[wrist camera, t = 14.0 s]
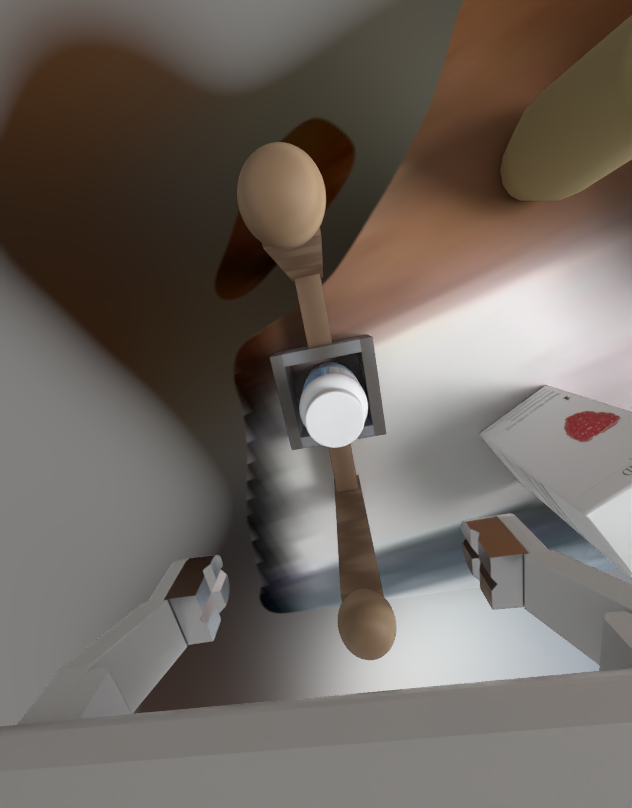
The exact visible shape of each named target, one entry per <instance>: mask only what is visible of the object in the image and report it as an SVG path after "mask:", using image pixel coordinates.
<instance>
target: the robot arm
mask: <svg viewBox="0 0 632 808" xmlns="http://www.w3.org/2000/svg"><path fill="white" fill-rule="evenodd" d="M461 528H462V533H463V534H464V536H465V538H466V539H465V540H464V542H463V551H464V555H465V559H466V562H467V564H468V567H469V569H470V571H471V573H472V574H473V576H475V577H476V578H478V579H479V580H480V588H481V590H482V592H483V594H484V595H485V597H486V599H487V601H488V602H489V604H490V606H491V607H492V609H505V608H517V607H525V609H526V610H527V611H528V612H530V613H531V614H532V615H534V616H535V617H536V618H538V619H539V620H540V621H542V622H543V623H544V624H546V625H547V626H548V627H550V628H551V629H552V630H554V631H555V632H556V633H558V634H559V635H560V636H562V637H563V638H565V639H566V640H567V641H568V642H570V643H571V644H572V645H573V646H575V647H576V648H577V649H579V650H580V651H582V652H583V653H584V654H585V655H587V656H588V657H589V658H591V659H592V660H593V661H595V662H596V663H597V664H599V665H600V668H599V671H593V672H582V673H572V674H561V675H550V676H539V677H528V678H518V679H508V680H507V679H506V680H496V681H485V682H475V683H464V684H455V685H454V684H453V685H442V686H433V687H421V688H410V689H400V690H391V691H390V690H389V691H379V692H368V693H357V694H346V695H335V696H325V697H313V698H302V699H291V700H282V701H281V700H280V701H270V702H259V703H249V704H237V705H226V706H216V707H205V708H194V709H184V710H172V711H162V712H151V713H140V714H133V712H134V711H135V710H136V709H137V707H138V706H139V705H140V704H141V702H142V701H143V700H144V699H145V697H146V696H147V695H148V694H149V693H150V692H151V690H152V689H153V688H154V687H155V685H156V684H157V683H158V682H159V681H160V679H161V678H162V677H163V675H164V674H165V673H166V672H167V671H168V670H169V668H170V667H171V666H172V664H173V663H174V662H175V661H176V660H177V659H178V657H179V656H180V655H181V654H182V652H183V651H184V650H185V649H186V648H187V645H190V644H197V643H204V642H210V641H214V638H215V635H216V632H217V630H218V627H219V624H220V621H221V618H220V615H219V613H220V612H221V611H222V609H223V608H224V607H225V606H226V604H227V600H228V597H229V580H228V577H227V574H226V573H224V572H223V571H221V568H222V565H223V563H222V560H221V558H220V556H218V555H213V556H204V557H195V558H189V559H180V560H176V561H174V562H173V563H172V564H171V566H170V567H169V569H168V570H167V572H166V574H165V575H164V577H163V578H162V580H161V581H160V583H159V585H158V586H157V588H156V589H155V591H154V592H153V594H152V596H151V597H150V599H149V600H148V602H147V603H142V604H141V605H140V606H138V607H137V608H136V609H135V610H133V611H132V612H131V613H130V614H128V615H127V616H126V617H124V618H123V619H122V620H121V621H119V622H118V623H117V624H116V625H115V626H113V627H112V628H111V629H110V630H108V631H107V632H106V633H105V634H103V635H102V636H101V637H99V638H98V639H97V640H96V641H94V642H93V643H92V644H91V645H89V646H88V647H87V648H86V649H85V650H83V651H82V652H81V653H79V654H78V655H77V656H76V657H74V658H73V659H72V660H71V661H69V662H68V663H67V664H66V665H64V666H63V667H62V668H61V669H59V670H58V671H57V673H56V674H55V675H54V676H53V678H52V679H51V680H50V682H49V683H48V684H47V686H46V687H45V688H44V690H43V691H42V692H41V694H40V695H39V696H38V697H37V699H36V700H35V701H34V703H33V704H32V705H31V707H30V708H29V709H28V711H27V712H26V713H25V714H24V716H23V717H22V719H21V720H20V721H19V722H18V724H17V725H11V726H1V727H0V808H632V585H631V584H629V583H626V582H624V581H622V580H620V579H617V578H615V577H613V576H611V575H609V574H606V573H604V572H602V571H600V570H598V569H595V568H593V567H591V566H589V565H586V564H584V563H582V562H580V561H578V560H575V559H573V558H571V557H569V556H566V555H564V554H562V553H560V552H558V551H549V550H548V549H547V548H546V547H545V545H544V544H543V543H542V542H541V541H540V540H539V539H538V538H537V537H536V536H535V535H534V534H533V533H532V532H531V531H530V530H529V529H528V528H527V527H526V526H525V525H524V524H523V523H522V522H521V521H520V520H519V519H518V518H517V517H516V516H515V515H514V514H512V513H508V514H502V515H496V516H492V517H485V518H478V519H471V520H464V521H462V524H461Z"/></svg>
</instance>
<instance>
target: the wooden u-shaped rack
mask: <svg viewBox="0 0 632 808" xmlns="http://www.w3.org/2000/svg"><path fill="white" fill-rule="evenodd" d="M237 196H238V204H239V209H240V212H241V215H242V218H243V220H244V222H245V224H246V226H247V227H248V229H249V230H250V231H251V233H252V234H253V235H254V236H255V237H256V238H257V239H258V240H260V241H261V242H262V245H263V248H264V250H265V251H266V252H267V253H268V254H269V255H270V256H271V258H272V259H273V260H274V261H275V262H276V263H277V264H278V265H279V267H280V268H281V269H282V270H283V271H284V272H285V273H286V274H287V275H288V277H289V278H290V279H291V280H292V281H293V282H294V283H295V284H296V289H297V294H298V299H299V304H300V309H301V314H302V319H303V324H304V329H305V334H306V339H307V343H308V346H306V347H301V348H296V349H291V350H286V351H281V352H276V353H275V354H273V355H272V356H270V361H271V365H272V369H273V373H274V378H275V382H276V386H277V390H278V394H279V398H280V403H281V407H282V411H283V415H284V419H285V423H286V427H287V432H288V436H289V440H290V444H291V448H292V450H296V449H302V448H307V447H313V446H319V445H321V444H319V443H317V442H316V441H315V440H314V439H313V438H312V437H311V436H310V435H309V433H308V431H307V428H306V427H305V425H303V422H302V419H301V416H300V411H299V403H298V398H297V394H296V389H295V385H294V380H293V376H292V371H291V367H290V366H292V365H297V364H302V363H307V362H312V361H317V360H322V359H327V358H333V357H338V356H343V355H348V354H353V353H358V355H359V362H360V368H361V374H362V381H363V387H364V392H365V395H366V397H367V402H368V413H367V417H366V420H365V423H364V427H363V430H362V432H361V433H360V435H359V436H358V437H357V438H356V439H360V438H366V437H372V436H378V435H384V434H386V429H385V422H384V415H383V408H382V401H381V394H380V387H379V380H378V373H377V366H376V359H375V352H374V345H373V337H372V336H369V335H362V336H357V337H351V338H346V339H341V340H336V341H332V339H331V333H330V328H329V322H328V317H327V311H326V306H325V300H324V294H323V289H322V283H321V278H322V277H323V265H322V245H321V232H320V225H321V222H322V220H323V217H324V212H325V206H326V193H325V186H324V182H323V179H322V176H321V173H320V171H319V169H318V167H317V166H316V164H315V163H314V161H313V160H312V159H311V158H310V156H308V155H307V154H306V153H305V152H304V151H303V150H301V149H300V148H298V147H296V146H294V145H292V144H288V143H283V142H276V143H270V144H267V145H264V146H262V147H260V148H259V149H257V150H256V151H255V152H254V153H253V154H252V155H250V157H249V158H248V159H247V161H246V162H245V164H244V166H243V168H242V170H241V173H240V177H239V181H238V190H237ZM329 452H330V457H331V462H332V467H333V472H334V477H335V479H334V483H335V501H336V519H337V536H338V554H339V572H340V590H341V598H342V604H341V606H340V609H339V613H338V629H339V633H340V636H341V639H342V641H343V642H344V644H345V645H346V647H347V648H348V650H349V651H350V652H352V653H353V654H354V655H356V656H357V657H359V658H361V659H365V660H375V659H378V658H381V657H382V656H384V655H385V654H386V653H387V652H388V651H389V650H390V648H391V647H392V645H393V643H394V640H395V636H396V620H395V616H394V613H393V610H392V608H391V606H390V604H389V603H388V601H387V600H386V599H385V598H384V596H383V590H382V585H381V581H380V576H379V571H378V566H377V562H376V557H375V552H374V547H373V543H372V538H371V533H370V528H369V524H368V519H367V514H366V509H365V505H364V500H363V495H362V490H361V486H360V481H359V476H358V475H356V472H355V467H354V461H353V456H352V450H351V444H348V445H346V446H343V447H337V448H331V447H329Z"/></svg>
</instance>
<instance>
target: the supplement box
mask: <svg viewBox="0 0 632 808" xmlns="http://www.w3.org/2000/svg"><path fill="white" fill-rule="evenodd" d="M480 436H481V437H482V438H483V440H484V441H485V442H486V443H487V444H488V446H489V447H490V448H491V449H492V450H493V451H494V453H495V454H496V455H497V456H498V457H499V459H500V460H501V461H502V462H503V463H504V464H505V466H506V467H507V468H508V469H509V470H510V472H511V473H512V474H513V475H514V476H515V477H516V479H517V480H518V481H519V482H520V483H521V484H522V485H524V486H525V487H526V488H527V489H528V490H530V491H531V492H532V493H533V494H534V495H535V496H536V497H538V498H539V499H540V500H541V501H542V502H543V503H545V504H546V505H547V506H548V507H549V508H550V509H552V510H553V511H554V512H555V513H556V514H557V515H558V516H560V517H561V518H562V519H563V520H564V521H565V522H567V523H568V524H569V525H570V526H571V527H572V528H573V529H575V530H576V531H577V532H578V533H579V534H580V535H581V536H583V537H584V538H585V539H586V540H587V541H588V542H590V543H591V544H592V545H593V546H594V547H595V548H597V549H598V550H599V551H600V552H601V553H602V554H603V555H605V556H606V557H607V558H608V559H609V560H610V561H611V562H613V563H614V564H615V565H616V566H617V567H618V568H619V569H621V570H622V571H623V572H624V573H625V574H626V575H627V576H629V577H630V578H631V579H632V412H630V411H627V410H624V409H620V408H617V407H614V406H611V405H608V404H605V403H601V402H598V401H595V400H592V399H589V398H585V397H582V396H579V395H576V394H573V393H569V392H566V391H563V390H560V389H557V388H554V387H550V386H547V385H545V386H544V387H542V388H541V389H540V390H538V391H537V392H536V393H534V394H533V395H531V396H530V397H529V398H527V399H526V400H525V401H523V402H522V403H520V404H519V405H518V406H516V407H515V408H514V409H512V410H511V411H509V412H508V413H507V414H505V415H504V416H503V417H501V418H500V419H498V420H497V421H496V422H494V423H493V424H492V425H490V426H489V427H487V428H486V429H485V430H483V431H482V432H481V433H480Z"/></svg>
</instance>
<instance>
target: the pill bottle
mask: <svg viewBox="0 0 632 808" xmlns="http://www.w3.org/2000/svg"><path fill="white" fill-rule="evenodd" d="M299 411H300V416H301V419H302V422H303V423H304V425H305V427H306V428H307V431H308V433H309V435H310V436H311V437H312V438H313V439H314V440H315V441H316V442H317V443H319V444H321V445H323V446H326V447H331V448H337V447H343V446H346V445H348V444H350V443H352V442H353V441H354V440H355V439H356V438H357V437H358V436H359V435H360V433H361V432H362V430H363V427H364V423H365V420H366V417H367V413H368V402H367V397H366V395H365V392H364V390H363V389H362V387H361V385H360V383H359V382H358V380H357V378H356V377H355V375H354V373H353V372H352V371H351V370H350V369H349V368H348V367H346V366H345V365H343V364H341V363H337V362H326V363H322V364H320V365H318V366H316V367H315V368H314V369H312V370H311V372H310V373H309V374H308V376H307V378H306V380H305V384H304V387H303V391H302V395H301V398H300V404H299Z"/></svg>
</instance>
